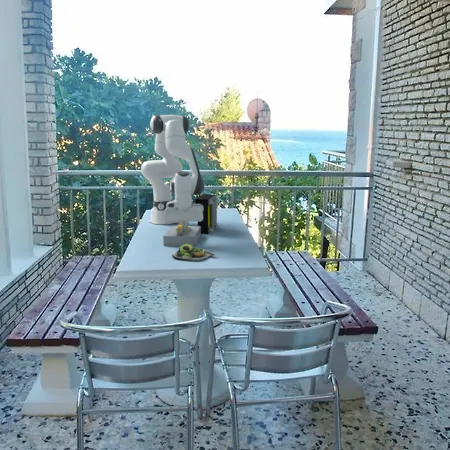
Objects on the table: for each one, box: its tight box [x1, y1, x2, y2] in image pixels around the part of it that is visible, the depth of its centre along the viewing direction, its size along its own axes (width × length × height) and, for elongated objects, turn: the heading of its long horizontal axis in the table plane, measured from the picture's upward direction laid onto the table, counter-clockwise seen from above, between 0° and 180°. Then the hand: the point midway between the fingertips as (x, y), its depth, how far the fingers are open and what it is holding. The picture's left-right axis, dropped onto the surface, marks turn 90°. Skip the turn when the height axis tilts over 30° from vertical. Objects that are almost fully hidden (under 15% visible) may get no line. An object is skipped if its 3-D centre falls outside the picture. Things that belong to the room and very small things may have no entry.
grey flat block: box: [162, 225, 202, 247], centre depth 246 cm, size 24×16×5 cm, turn 175°
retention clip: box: [177, 224, 182, 236], centre depth 240 cm, size 11×3×3 cm, turn 3°
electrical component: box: [194, 193, 219, 235], centre depth 266 cm, size 18×10×20 cm, turn 168°
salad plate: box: [171, 244, 216, 262], centre depth 217 cm, size 19×18×5 cm
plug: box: [176, 221, 192, 232], centre depth 247 cm, size 7×7×11 cm
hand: (184, 229), depth 242 cm, fingers closed
